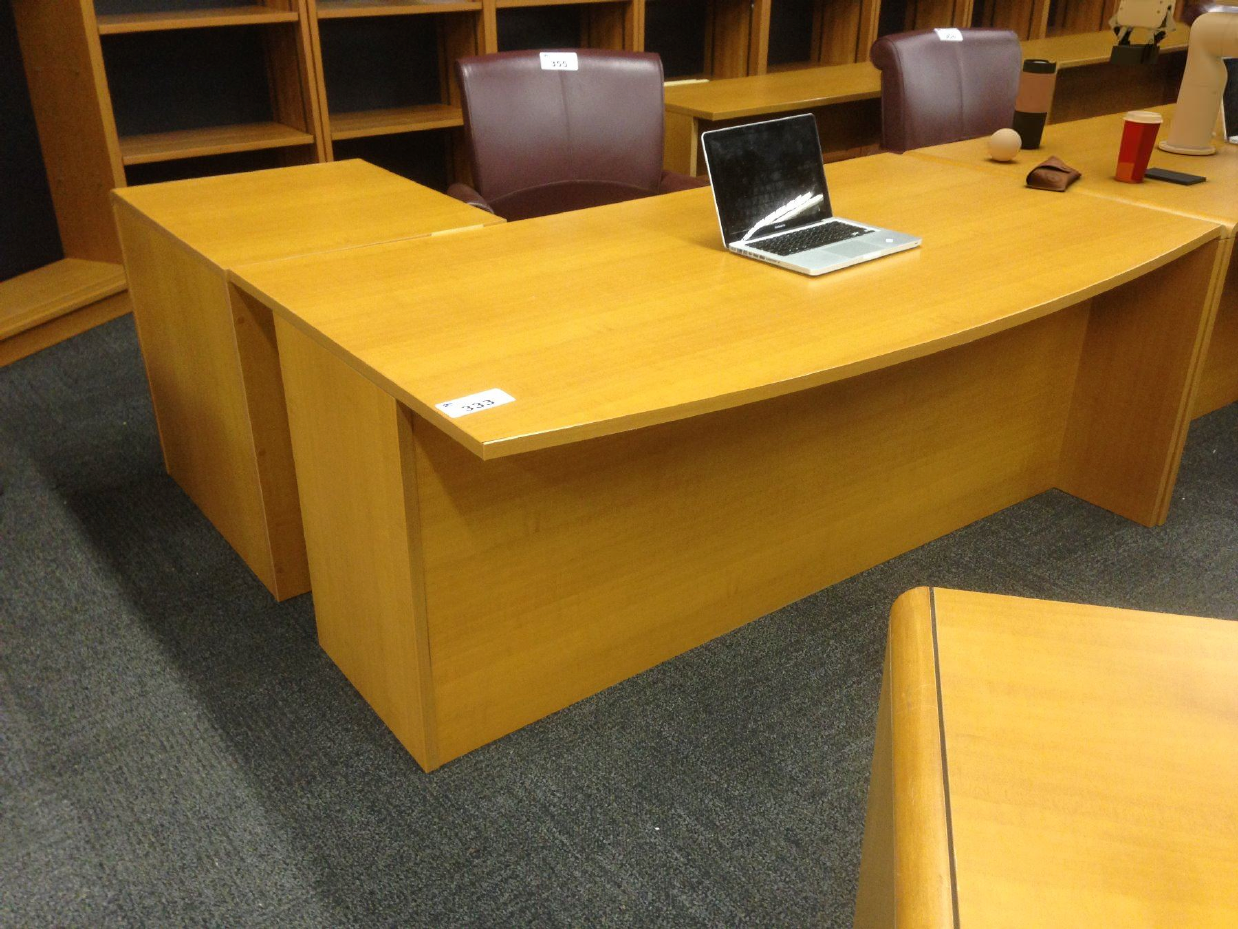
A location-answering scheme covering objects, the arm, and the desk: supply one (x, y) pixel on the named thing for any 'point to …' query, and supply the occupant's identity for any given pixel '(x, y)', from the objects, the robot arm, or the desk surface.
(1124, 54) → the black block
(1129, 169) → the paper cup
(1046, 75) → the travel mug
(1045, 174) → the sunglasses case
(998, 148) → the cream ovoid piece
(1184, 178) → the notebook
